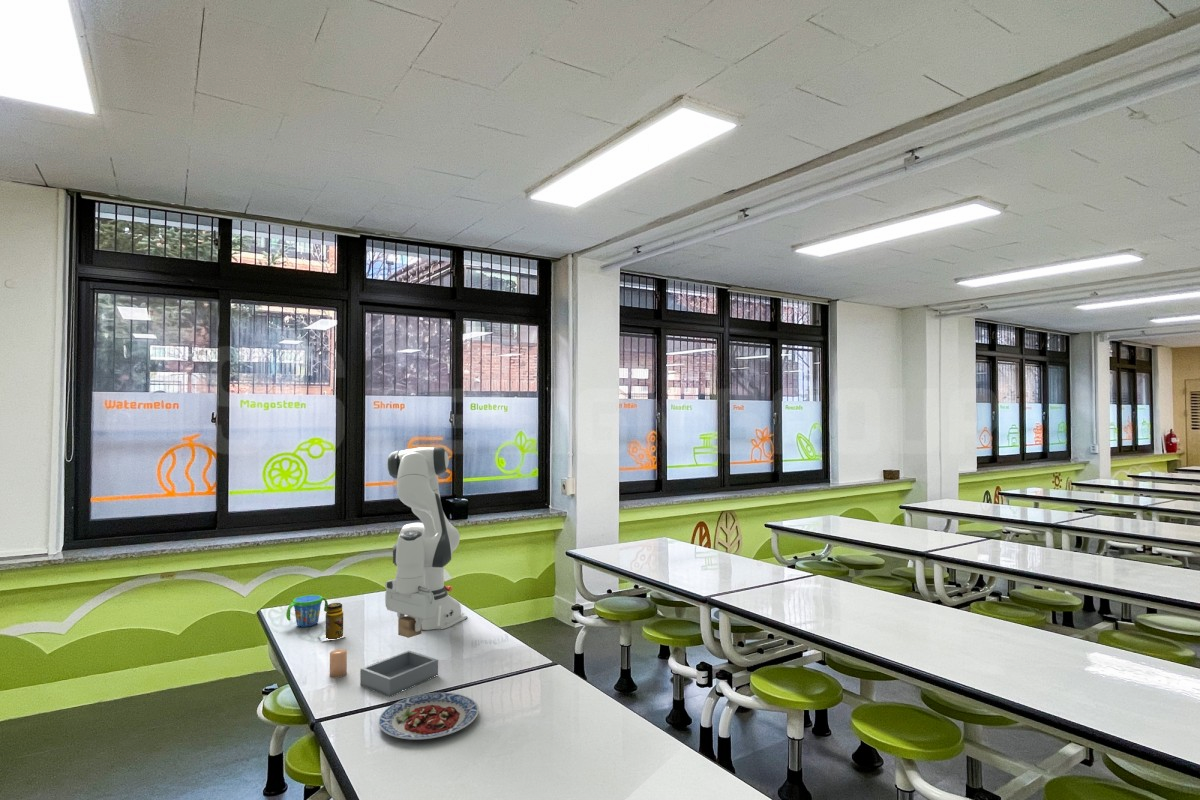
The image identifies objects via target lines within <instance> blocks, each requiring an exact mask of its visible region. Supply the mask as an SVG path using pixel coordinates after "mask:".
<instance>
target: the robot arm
mask: <svg viewBox="0 0 1200 800" xmlns="http://www.w3.org/2000/svg"><path fill="white" fill-rule="evenodd" d="M449 463H450V460H449V455H448V453H447V451H446V449H445V448H444V447H443V446H442V447H441V446H434V447H433V446H429V447H428V446H427V447H426V446H422V447H415V448H407V449H404V450H395V451H392V452H390V453H389V455H388V457H387V461H386V467H387V472H388V473H389V476H391V478H393V479H396V494H397V497H398V499H399V500H400V502H402V503H403V505H404V506H405V505H406V506H407V507H408V508H411V512H412V513H413V514H414V515H415V516H416V517H417V518H418V519H419V520H420V521H421V522H412V523H411V522H410V523H407V524H404V525H403V526H402V528H400V532H399V534H398V537H397V542H396V543H394V544H393V546H392V563H393V564H394V566H395V567H396V572H395V578H393V579H390V580H386V581H385V584H384V585H385V588H386V590H385V595H384V596H385V598H384V599H385V607H386V609H387V611H390V612H394V613H397V614H396V615H397V618H398V619H399V618H402V617H405V616H412V617H415V621H416V624H415V625H413V631H416V632H418V631H420V630H421V624H422V630H425V631H428V630H429V631H430V630H435V629H436V630H437V629H438V630H444V629H448V628H449V627H452V626H453V625H455V624H458V623H460V622H462V621H464V620H465V619H467V618H468V615H467V614H466V613H464V612H462V609H461V608H462V607H461V604H460V602H459V601H458V600H457V599H455V598H454V597H452V596H450V595H449V594H448V592H449V593H451V592H452V591H453V586H452V585H447V586H446V585H444V584H445V581H444V580H445V571H444V570H445V569H444V567H446V565H448V564H449V563H450V562H451V561H452V558H453V553H454V551H455V550H456V549H457V548H458V546H459V544H460V542H461V541H460V540H461V539H460V538H461V537H460V532H459V530H458V529H457V528H456V527H455V526H454V525H453V524H452V523H450V521H449V520H448V518H447V516H446V514H445V512H444V510H443V509H444V508H443V506H442V504H443V503H442V501H441V495H440V494H441V493H440V486H439V484H440V483H439V479H438V477H439V476H440V475H442V474H444V473H445V472H446V471H447V470H448V466H449Z"/></svg>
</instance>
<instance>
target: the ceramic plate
mask: <svg viewBox="0 0 1200 800" xmlns="http://www.w3.org/2000/svg"><path fill="white" fill-rule="evenodd" d="M479 709H480V708H479V706H478V703H477V702H476V701H475V700H473V698H470V697H468V696H466V695H463V694H459V693H454V692H429V693H422V694H418V695H413V696H410V697H406V698H404V699H402V700H398V701H397V702H395V703H392V704H391V705H389V707H387V708H386V709H385V710H384V711H383V712H382V713H381V715H379V719H378V726H379V728H380V730H381V731H382V732H383V733H384V734H386V735H389V736H391V737H393V738H396V739H397V738H398V739H403V740H428V739H429V740H431V739H435V738H440V737H444V736H448V735H452V734H454V733H456V732H458V731H461V730H462V729H464V728H466V727H468V726H469V725H471V724H472V723H473V722H475V719H476V718H477V717H478V715H479V712H480V710H479Z"/></svg>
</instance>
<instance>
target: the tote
mask: <svg viewBox="0 0 1200 800" xmlns="http://www.w3.org/2000/svg"><path fill="white" fill-rule="evenodd" d="M359 671H360V673H359V675H360V677H359V678H360V681H359V684H360V685H359V686H361V687H363V686H364V688H366V689H369V690H370V691H373V690H374V692H376V693H378V694H381V695H384V696H386V697H388V696H389V698H390V696H391V697H393V696H395V695H397V693H398V694H399V692H400V693H402V692H403V691H402V690H405V689H407V690H409V689H411V688H413V687H412V686H414V685H416V686H418V685H420V684H419V683H421V682H423V683H425V682H427V681H426V680H428V679H430V678H432V677H434V676H436V675H438V676H439V659H436V658H434V657H431V656H427V655H425V654H422V653H418V652H416V651H414V650H413V651H412V650H405V651H403V652H401V653H398V654H395V655H393V656H390V657H387V658H385V659H382V660H380V661H377V662H375V663H372V664H370V665H366V666H364V667H361V668H360V670H359ZM434 678H435V677H434ZM432 679H433V678H432ZM430 680H431V679H430ZM424 681H425V682H424ZM428 681H429V680H428ZM417 684H418V685H417ZM421 684H422V683H421ZM410 687H411V688H410ZM414 687H415V686H414ZM408 688H409V689H408ZM401 691H402V692H401ZM405 691H406V690H405ZM394 694H395V695H394ZM392 695H393V696H392Z"/></svg>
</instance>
